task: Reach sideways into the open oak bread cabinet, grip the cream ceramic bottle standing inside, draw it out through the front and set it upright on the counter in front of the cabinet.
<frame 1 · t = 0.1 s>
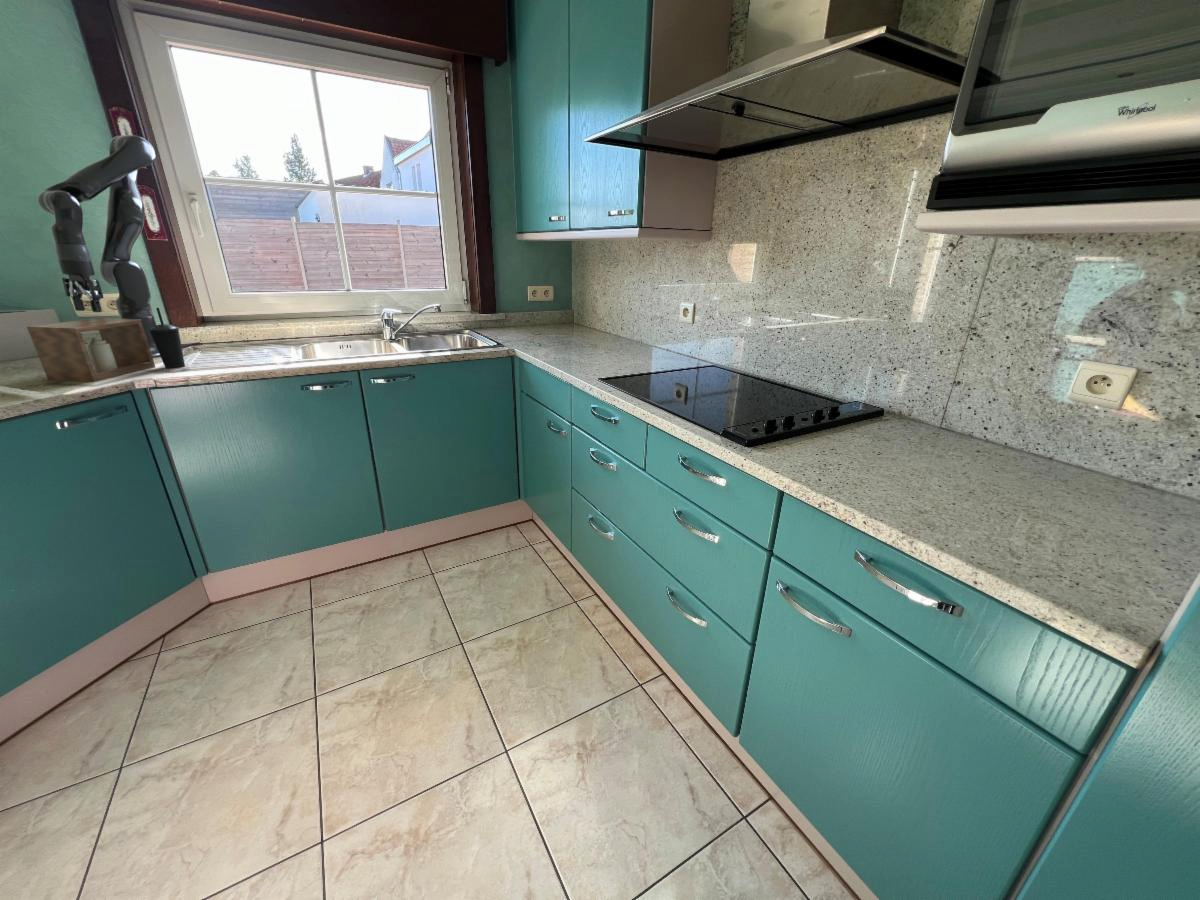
hand: (88, 311, 163), 17 cm above the worktop, tool pointing down, fingers open, 8 cm apart
drinking cup: (176, 370, 162), on the worktop
bread cabinet: (106, 376, 152), on the worktop
bottle: (108, 373, 151), point 1 cm above the worktop, touching bread cabinet
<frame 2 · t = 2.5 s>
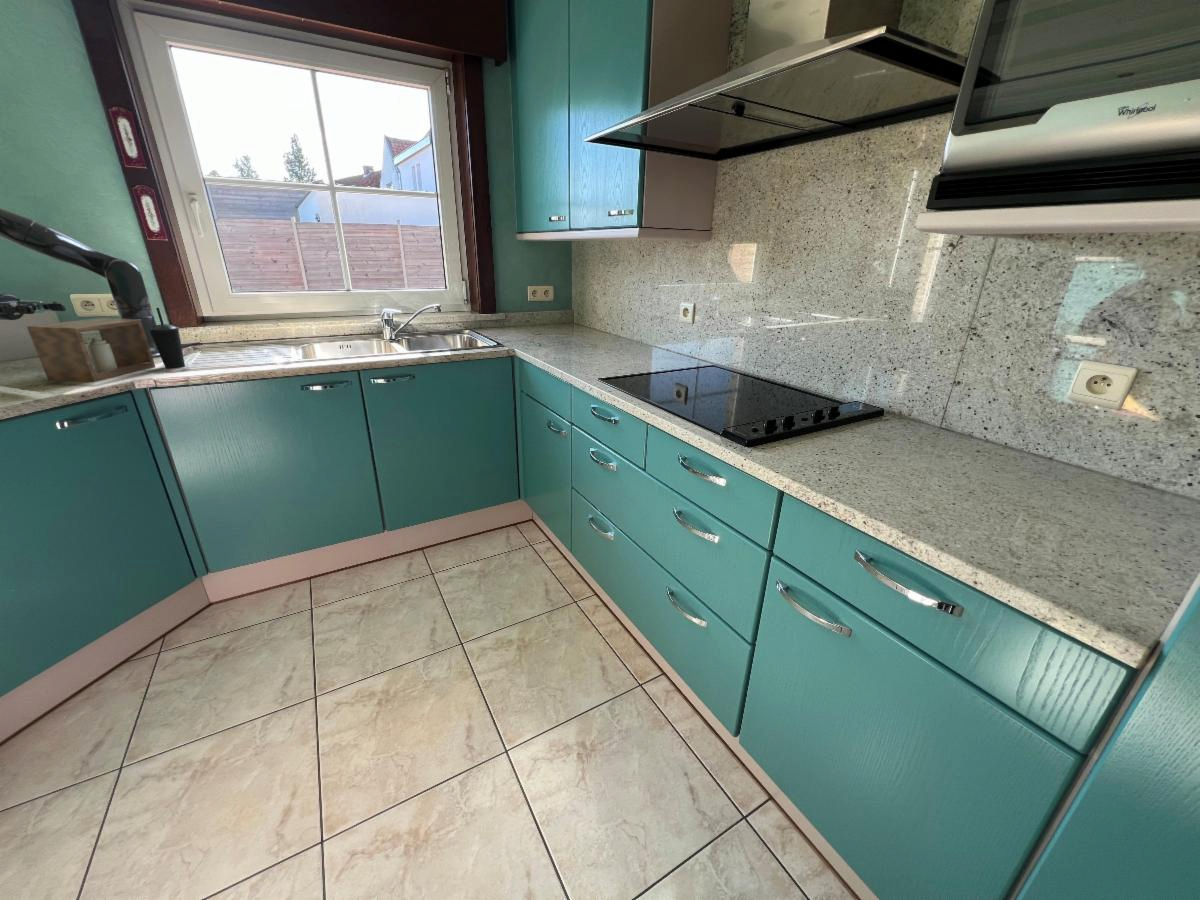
hand: (48, 308, 145), 20 cm above the worktop, tool horizontal, fingers open, 8 cm apart
nothing on the worktop moved.
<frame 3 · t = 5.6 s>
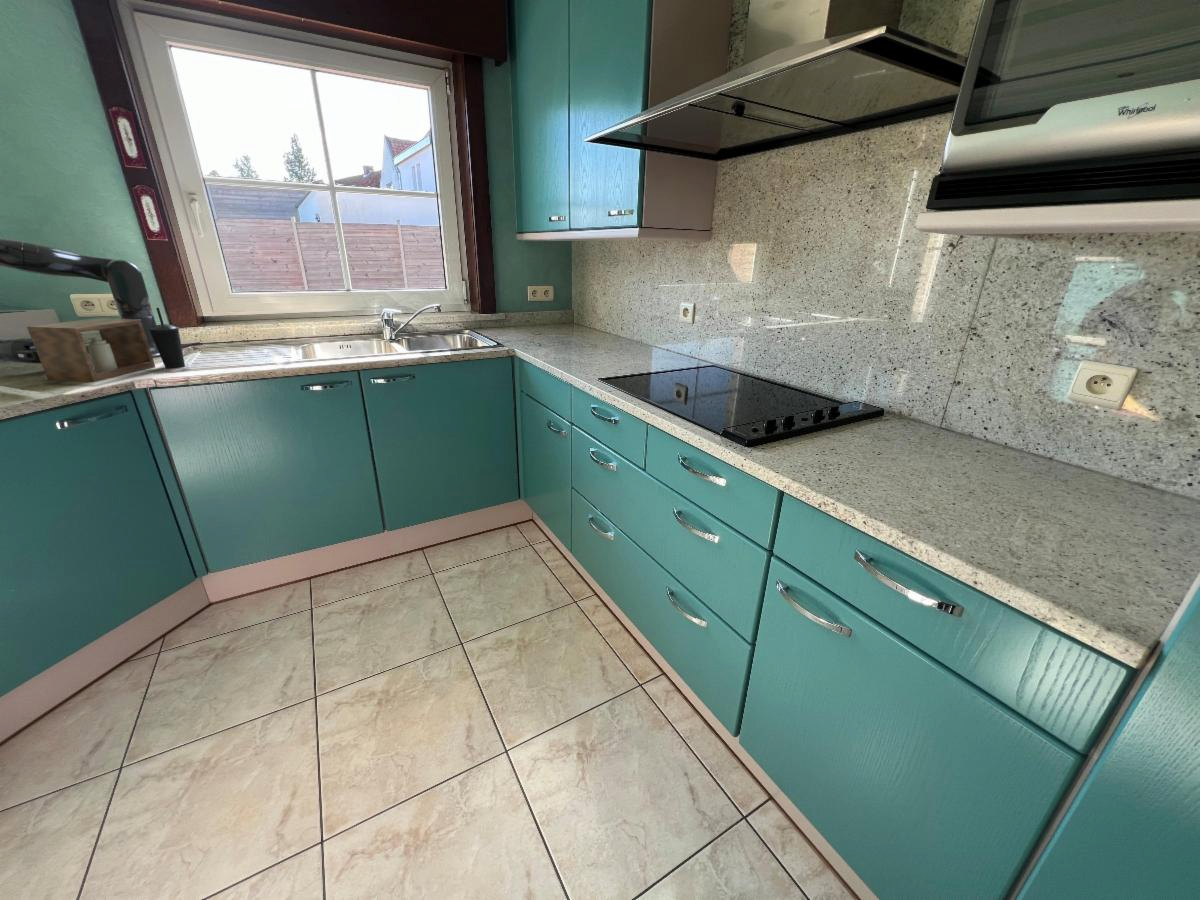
hand: (75, 352, 149), 7 cm above the worktop, tool horizontal, fingers open, 8 cm apart
nothing on the worktop moved.
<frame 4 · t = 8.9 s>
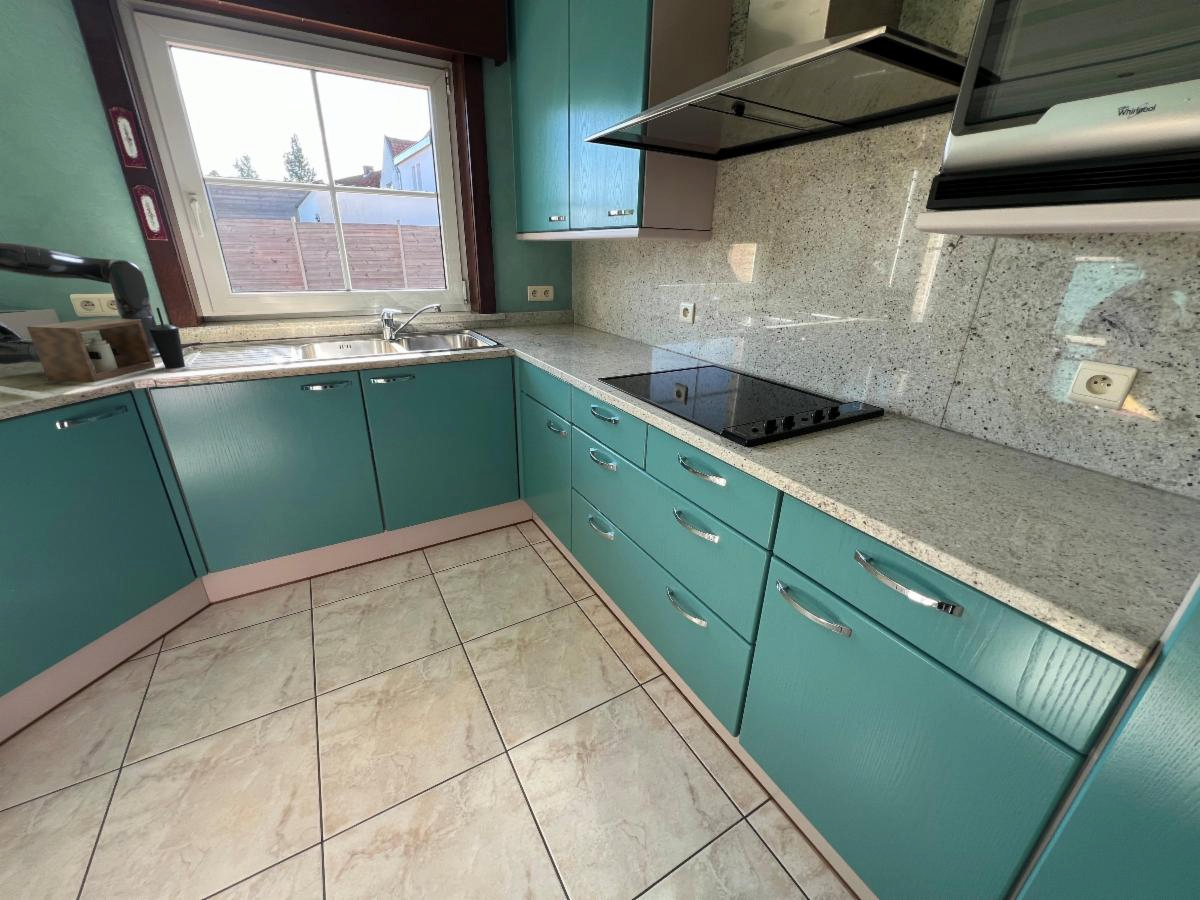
hand: (109, 353, 149), 7 cm above the worktop, tool horizontal, fingers closed on bottle, 5 cm apart
bottle: (108, 373, 151), point 1 cm above the worktop, touching bread cabinet, gripper
everything else where it was.
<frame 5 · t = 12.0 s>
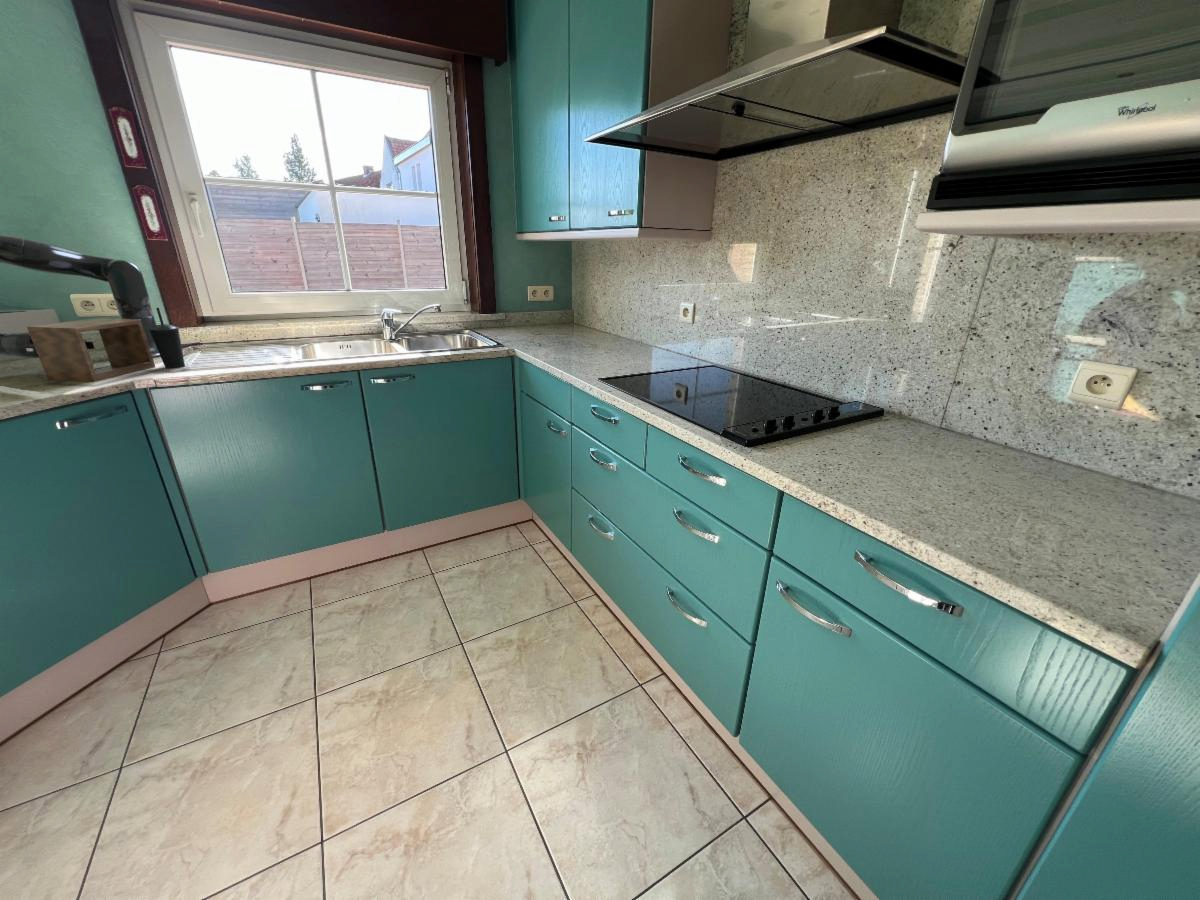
hand: (82, 347, 148), 9 cm above the worktop, tool horizontal, fingers closed on bottle, 5 cm apart
bottle: (81, 366, 151), point 3 cm above the worktop, touching gripper
everything else where it was.
when the fingers open (6 cm above the worktop, at t = 15.0 s): bottle stays where it is, on the worktop.
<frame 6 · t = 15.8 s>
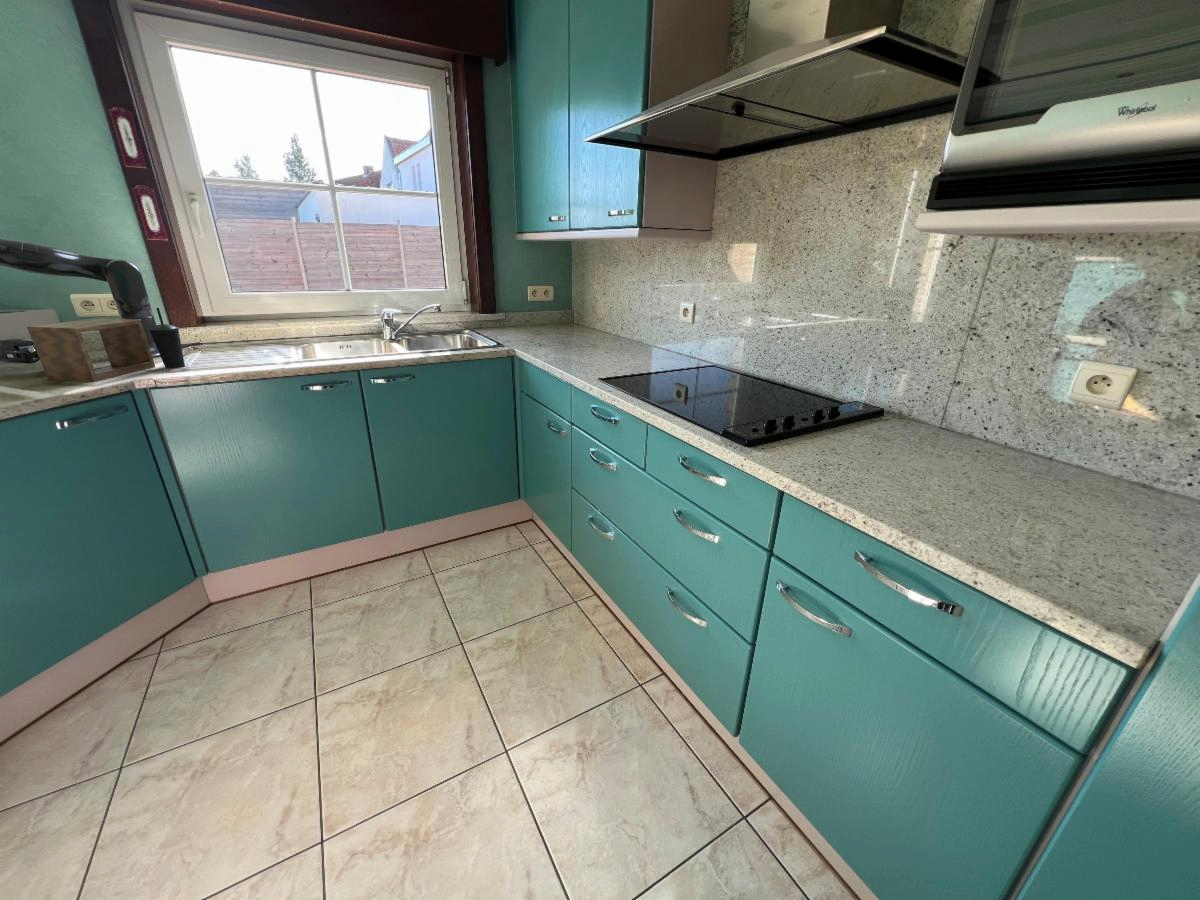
hand: (64, 352, 149), 7 cm above the worktop, tool horizontal, fingers open, 8 cm apart
bottle: (67, 375, 152), on the worktop
everything else where it was.
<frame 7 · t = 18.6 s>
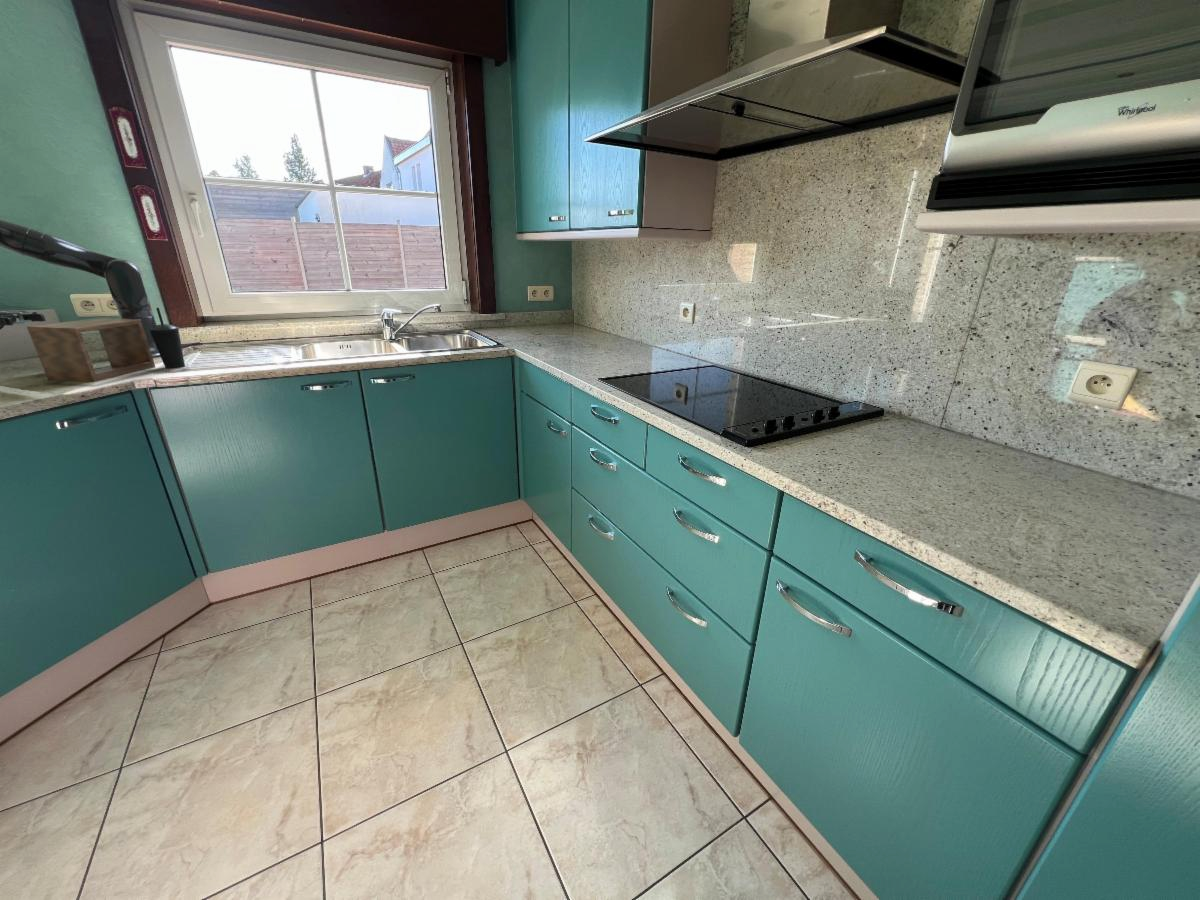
hand: (27, 319, 146), 17 cm above the worktop, tool horizontal, fingers open, 8 cm apart
nothing on the worktop moved.
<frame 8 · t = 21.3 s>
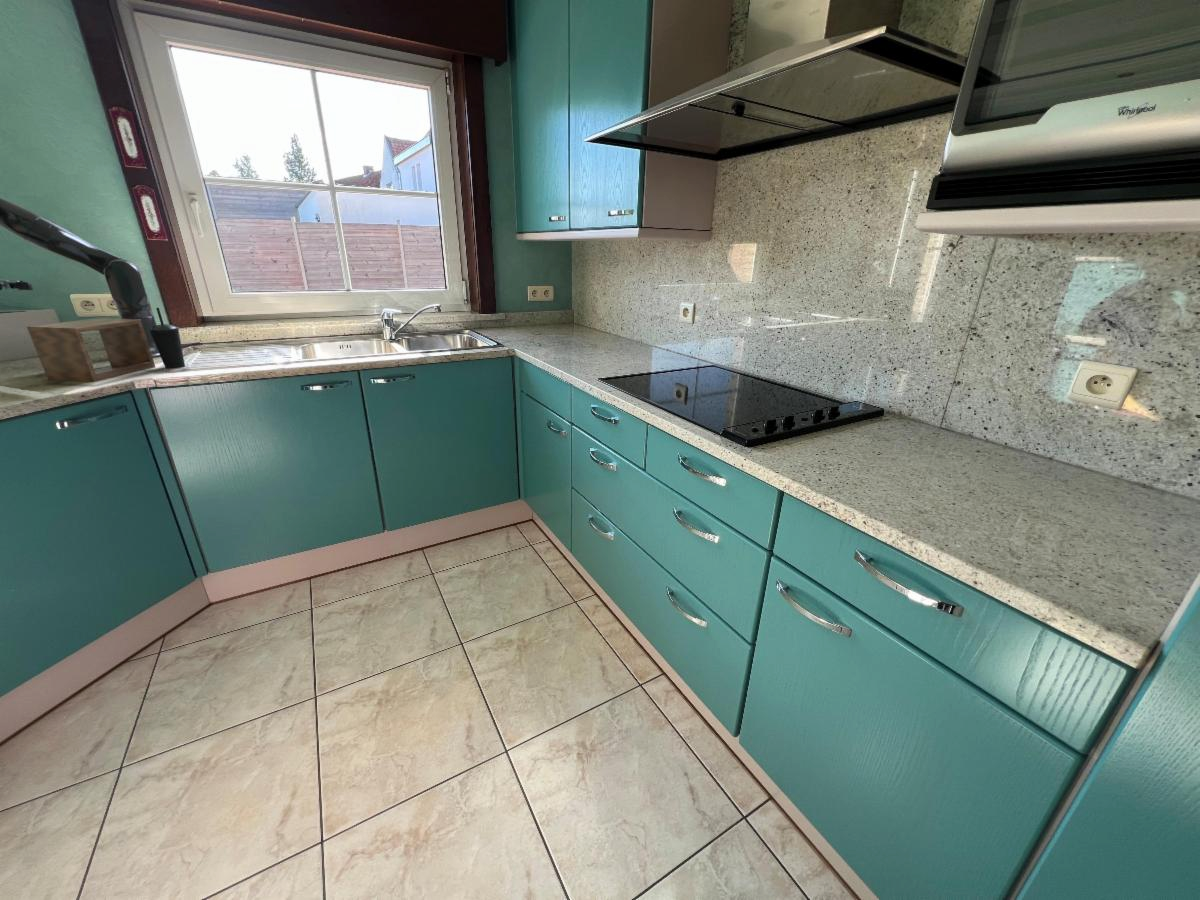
hand: (14, 287, 143), 26 cm above the worktop, tool horizontal, fingers open, 8 cm apart
nothing on the worktop moved.
at the end: bottle inside the target area (0.1 cm from its centre), on the worktop; bottle tilted 0°; the gripper is holding nothing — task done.
